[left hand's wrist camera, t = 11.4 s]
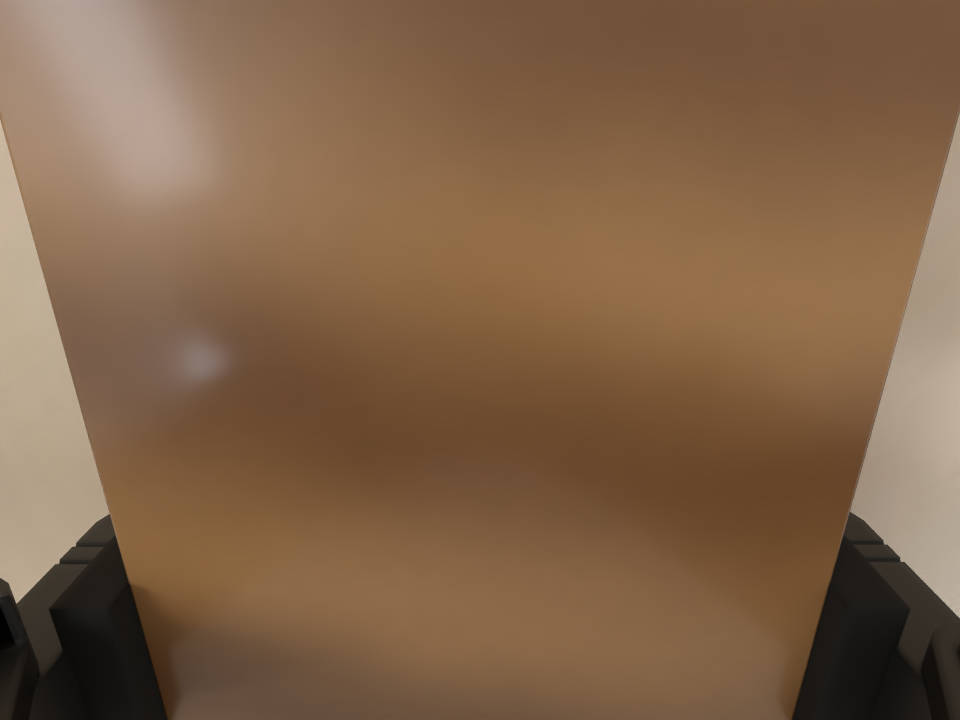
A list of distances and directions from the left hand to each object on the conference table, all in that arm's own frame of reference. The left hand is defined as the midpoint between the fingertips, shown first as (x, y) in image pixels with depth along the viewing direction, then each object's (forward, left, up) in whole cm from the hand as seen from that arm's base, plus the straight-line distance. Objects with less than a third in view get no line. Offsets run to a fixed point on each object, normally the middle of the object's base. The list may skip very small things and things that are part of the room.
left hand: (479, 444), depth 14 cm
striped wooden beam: (+23, +10, -1) cm, 25 cm away
